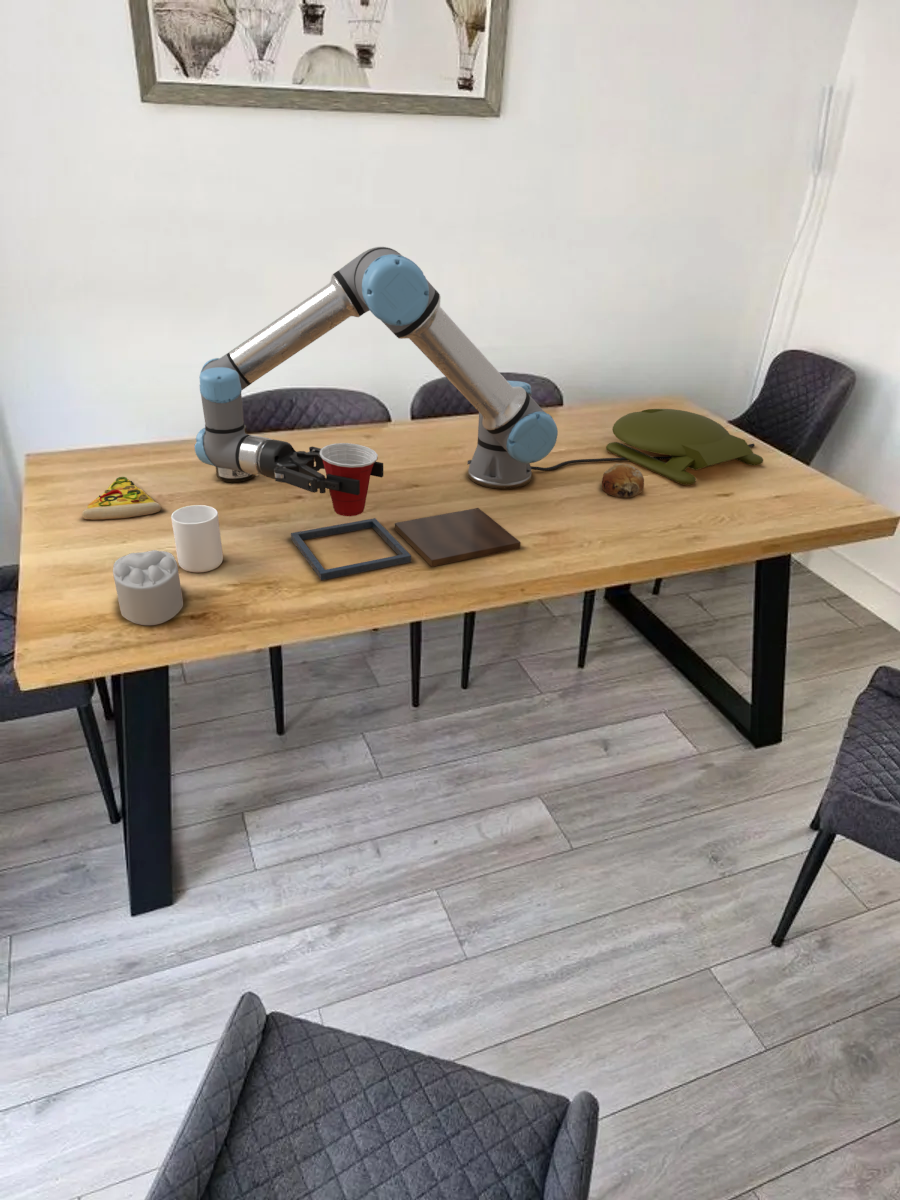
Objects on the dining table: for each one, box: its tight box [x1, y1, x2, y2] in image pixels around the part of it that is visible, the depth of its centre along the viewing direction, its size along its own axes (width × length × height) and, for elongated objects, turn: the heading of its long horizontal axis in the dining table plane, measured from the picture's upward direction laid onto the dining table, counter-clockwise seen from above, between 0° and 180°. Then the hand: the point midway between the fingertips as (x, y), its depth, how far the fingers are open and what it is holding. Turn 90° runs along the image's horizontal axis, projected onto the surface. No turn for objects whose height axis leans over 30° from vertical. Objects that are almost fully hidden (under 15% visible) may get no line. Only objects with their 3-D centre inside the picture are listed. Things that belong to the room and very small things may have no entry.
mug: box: [170, 504, 224, 574], centre depth 155 cm, size 12×8×10 cm
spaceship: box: [605, 408, 764, 486], centre depth 214 cm, size 35×31×10 cm
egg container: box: [112, 549, 184, 626], centre depth 141 cm, size 10×13×9 cm
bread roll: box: [601, 463, 645, 499], centre depth 194 cm, size 10×10×8 cm
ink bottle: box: [215, 423, 256, 483], centre depth 190 cm, size 10×9×12 cm
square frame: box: [290, 517, 412, 581], centre depth 163 cm, size 18×18×2 cm
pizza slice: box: [81, 476, 162, 520], centre depth 179 cm, size 16×21×3 cm
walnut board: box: [393, 507, 521, 568], centre depth 169 cm, size 20×18×2 cm
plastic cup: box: [320, 442, 379, 517], centre depth 156 cm, size 11×11×12 cm
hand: (370, 478), depth 154 cm, fingers closed on plastic cup, 9 cm apart
